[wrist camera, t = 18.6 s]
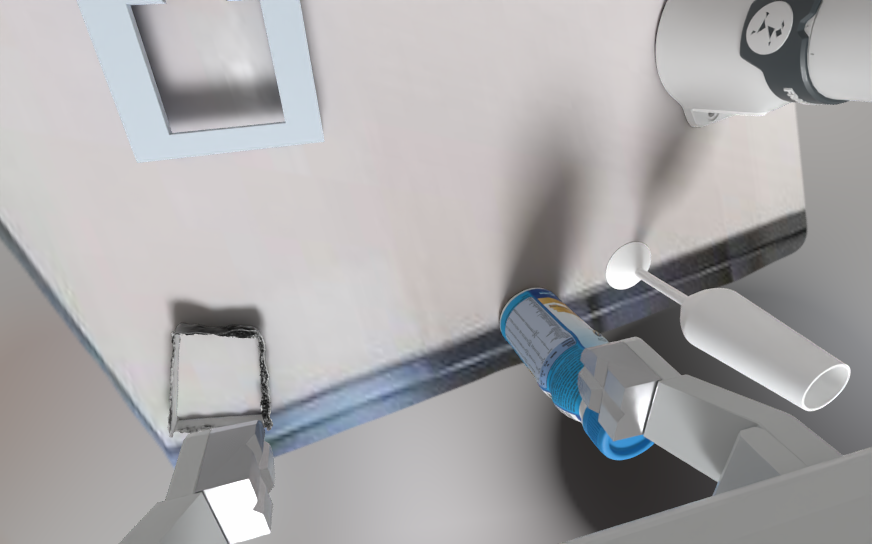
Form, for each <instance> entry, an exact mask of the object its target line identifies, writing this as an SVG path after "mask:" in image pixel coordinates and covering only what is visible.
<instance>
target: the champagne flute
mask: <svg viewBox="0 0 872 544" xmlns="http://www.w3.org/2000/svg"><path fill="white" fill-rule="evenodd" d="M650 263H651V252H650V249H649V248H648V246H647V245H645V244H644V243H641V242H631V243H628V244H626V245H624V246H622V247H621V248H620V249H618V250H617V251H616V252H615V253H614V255H613V256H612V257H611V259H610V261H609V263H608V265H607V269H606V278H607V281H608V283H609V284H610V286H612V287H613V288H616V289H627V288H629V287H632V286H634V285H635V284H637V283H638V282H639V281H640V280H643V281H644V282H646V283H647V284H649V285H651V286H652V287H654V288H655V289H657V290H658V291H660V292H662V293H663V294H665V295H666V296H668V297H669V298H671V299H673V300H674V301H676V302H677V303H679V304H680V305H682V306H681V314H680V324H681V329H682V331H683V333H684V336H685V338H686V339H687V340H688V341H689V342H690V343H691V344H693V345H694V346H696V347H698V348H699V349H701V350H703V351H704V352H706V353H708V354H710V355H711V356H713V357H715V358H717V359H718V360H720V361H722V362H723V363H725V364H727V365H729V366H730V367H732V368H734V369H735V370H737V371H739V372H741V373H742V374H744V375H746V376H748V377H749V378H751V379H753V380H755V381H756V382H758V383H760V384H762V385H763V386H765V387H767V388H768V389H770V390H772V391H773V392H775V393H777V394H778V395H780V396H782V397H784V398H785V399H787V400H789V401H791V402H792V403H794V404H796V405H797V406H799V407H801V408H803V409H804V410H806V411H814V410H818V409H820V408H822V407H824V406H825V405H827V404H828V403H830V402H831V401H832V400H834V398H836V397H837V396H838V395H839V393H840V392H841V391H842V390H843V389H844V387H845V386H846V384H847V382H848V380H849V377H850V368H849V366H848V365H846V364H845V363H843V362H842V361H840V360H839V359H837V358H836V357H834V356H832V355H831V354H829V353H828V352H826V351H825V350H823V349H822V348H820V347H819V346H817V345H816V344H814V343H813V342H811V341H810V340H808V339H807V338H805V337H804V336H802V335H801V334H799V333H798V332H796V331H794V330H793V329H792V328H790V327H788V326H787V325H785V324H784V323H782V322H781V321H779V320H778V319H776V318H775V317H773V316H772V315H770V314H769V313H767V312H766V311H764V310H763V309H761V308H760V307H758V306H757V305H755V304H754V303H752V302H751V301H749V300H747V299H746V298H744V297H743V296H741V295H739V294H738V293H737V292H735V291H733V290H730V289H727V288H713V289H707V290H703V291H700V292H698V293H695V294H693V295H691V296H689V297H688V296H687V295H685V294H683V293H682V292H680V291H678V290H677V289H675V288H673V287H672V286H670V285H668V284H667V283H665V282H663V281H662V280H660V279H658V278H657V277H655V276H653V275H652V274H650V273H648V272H647V271H648V269H649V266H650Z"/></svg>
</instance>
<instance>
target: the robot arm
mask: <svg viewBox="0 0 872 544" xmlns="http://www.w3.org/2000/svg"><path fill="white" fill-rule="evenodd" d="M656 64H657V70H658V74H659V77H660V80H661V82H662V84H663V86H664V88H665V89H666V91H667V92H668V93H669V95H670V96H671V97H672V98H674V99H675V100H676V101H677V102H678V103H679V104H680V105H681V106H682V107H683V110H684V113H685V116H686V119H687V121H688V123H689V124H690V125H691V126H692V127H704V126H707V125H709V124H712V123H715V122H718V121H720V120H723V119H726V118H729V117H731V116H734V115H748V116H764V115H766V114H767V113H768V112H769V111H773V110H776V109H779V108H781V107H783V106H785V105H787V104H789V103H791V102H797V103H801V104H807V105H820V104H833V105H834V104H840V103H844V102H847V101H850V100H851V101H864V102H872V0H668V1H667V3H666V5H665V8H664V10H663V13H662V16H661V19H660V23H659V27H658V32H657V38H656ZM580 361H581V362H582V363H583V364H584V367H583V368H582V370H581V371H580V372H579V373H578V382H577V384H578V388H579V393H580V395H581V397H582V399H583V401H584V403H585V404H586V406H587V407H588V408H589V409H591V410H593V411H595V412H597V413H599V416H598V422H599V423H600V424H601V426H602V427H603V428H604V430H605V431H606V432H607V434H608V435H609V436H610V438H611V439H612V440H613V441H617V440H621V439H626V438H630V437H634V436H638V435H643V434H644V437H646V438H647V439H649V440H651V441H652V442H654V443H655V444H657V445H659V446H660V447H662V448H664V449H665V450H667V451H669V452H670V453H672V454H673V455H675V456H676V457H678V458H680V459H681V460H683V461H685V462H686V463H688V464H690V465H691V466H693V467H694V468H696V469H698V470H699V471H701V472H702V473H704V474H706V475H707V476H709V477H710V478H712V479H714V480H715V481H717V482H718V484H717V486H716V489H715V491H714V493H713V496H712V497H709V498H705V499H702V500H699V501H695V502H692V503H689V504H686V505H683V506H680V507H676V508H673V509H670V510H666V511H663V512H660V513H657V514H654V515H650V516H647V517H644V518H641V519H637V520H634V521H631V522H628V523H625V524H622V525H618V526H615V527H612V528H608V529H605V530H602V531H599V532H596V533H592V534H589V535H586V536H582V537H579V538H576V539H573V540H570V541H567V542H563V543H560V544H872V447H870V448H867V449H863V450H861V451H857V452H854V453H850V454H847V455H844V456H843V455H842V454H840V453H839V452H838V451H837V450H835V449H834V448H833V447H832V446H830V445H829V444H828V443H827V442H825V441H824V440H823V439H822V438H820V437H819V436H818V435H816V434H815V433H814V432H813V431H811V430H810V429H809V428H808V427H806V426H805V425H804V424H803V423H801V422H800V421H799V420H797V419H796V418H795V417H794V416H793V415H791V414H788V413H785V412H783V411H780V410H778V409H775V408H772V407H770V406H767V405H765V404H762V403H759V402H757V401H754V400H752V399H749V398H746V397H744V396H741V395H739V394H736V393H733V392H731V391H728V390H726V389H723V388H720V387H718V386H715V385H713V384H710V383H707V382H705V381H702V380H700V379H697V378H694V377H692V376H689V375H682V376H681V375H680V374H679V373H678V372H677V371H676V370H675V369H674V368H672V366H670V365H669V364H668V363H667V362H666V361H665V360H664V359H663V358H662V357H660V356H659V355H658V354H657V353H656V352H655V351H654V350H653V349H652V348H651V347H649V345H647V344H646V343H645V342H644V341H643V340H642V339H640V338H638V337H632V338H628V339H624V340H619V341H616V342H611V343H607V344H602V345H598V346H594V347H589V348H585V349H584V350H583V352H582V353H581V359H580ZM264 437H265V429H264V427H263V424H262V422H261V421H260V420H255V421H249V422H244V423H239V424H234V425H229V426H224V427H218V428H213V429H211V430H206V431H200V432H195V433H190V434H188V435H187V436H186V438H185V439H184V441H183V444H182V447H181V450H180V454H179V457H178V460H177V463H176V466H175V470H174V473H173V476H172V479H171V483H170V486H169V489H168V492H167V496H166V499H165V501H162V502H159V503H157V504H156V505H155V506H154V507H153V508H152V509H151V510H150V511H149V512H148V513H147V514H146V515H145V516H144V517H143V518H142V520H140V522H139V523H138V524H137V525H136V526H135V527H134V528H133V529H132V530H131V531H130V532H129V533H128V534H127V535H126V536H125V537H124V539H123V540H122V541H121V542H120V543H119V544H234V543H238V542H241V541H244V540H248V539H251V538H255V537H258V536H261V535H265V534H268V533H270V532H271V520H272V508H273V503H272V500H271V498H270V495H269V492H270V491H271V490H272V488H273V487H274V481H275V469H274V458H273V453H272V449H271V446H270V444H269V443H267V442H265V441H264Z"/></svg>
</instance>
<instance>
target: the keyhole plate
mask: <svg viewBox="0 0 872 544" xmlns="http://www.w3.org/2000/svg"><path fill="white" fill-rule="evenodd" d="M227 1H240V0H227ZM77 3H78V6H79V8H80V11H81V14H82V16H83V19H84V22H85V24H86V27H87V30H88V32H89V35H90V38H91V40H92V43H93V46H94V48H95V51H96V54H97V56H98V59H99V62H100V64H101V67H102V70H103V73H104V75H105V78H106V81H107V83H108V86H109V89H110V91H111V94H112V97H113V99H114V102H115V105H116V107H117V110H118V113H119V115H120V118H121V121H122V123H123V126H124V129H125V131H126V134H127V137H128V140H129V142H130V145H131V148H132V150H133V153H134V156H135V158H136V161H137V163H141V162H150V161H159V160H167V159H176V158H185V157H194V156H203V155H211V154H220V153H229V152H238V151H247V150H255V149H264V148H273V147H282V146H291V145H299V144H308V143H317V142H325V141H324V135H323V130H322V124H321V118H320V113H319V107H318V101H317V95H316V90H315V84H314V78H313V73H312V67H311V61H310V55H309V50H308V44H307V38H306V33H305V27H304V21H303V16H302V10H301V4H300V0H260V4H261V8H262V13H263V18H264V23H265V27H266V32H267V37H268V42H269V46H270V51H271V56H272V61H273V65H274V70H275V75H276V80H277V84H278V89H279V94H280V99H281V103H282V108H283V113H284V118H285V122H277V123H267V124H257V125H247V126H237V127H228V128H218V129H208V130H198V131H188V132H179V133H172V131H171V128H170V125H169V122H168V119H167V116H166V113H165V109H164V106H163V103H162V100H161V97H160V94H159V91H158V88H157V85H156V82H155V79H154V76H153V73H152V70H151V67H150V64H149V60H148V57H147V54H146V51H145V48H144V45H143V42H142V39H141V36H140V33H139V30H138V27H137V24H136V21H135V18H134V15H133V12H132V8H131V5H143V4H166V1H165V0H77Z"/></svg>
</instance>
